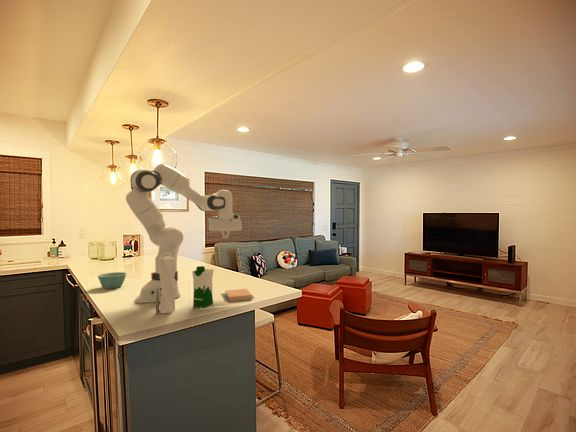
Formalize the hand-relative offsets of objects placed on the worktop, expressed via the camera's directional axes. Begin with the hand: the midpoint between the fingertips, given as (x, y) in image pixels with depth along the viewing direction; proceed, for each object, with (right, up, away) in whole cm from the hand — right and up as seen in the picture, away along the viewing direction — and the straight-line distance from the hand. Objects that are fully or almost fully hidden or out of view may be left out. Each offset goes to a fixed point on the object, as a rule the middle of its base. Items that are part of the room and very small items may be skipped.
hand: (225, 238), depth 186 cm
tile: (+9, -29, -15) cm, 34 cm away
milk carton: (-4, -32, -34) cm, 47 cm away
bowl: (-73, -32, +4) cm, 79 cm away
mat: (+11, -31, -19) cm, 38 cm away
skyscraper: (-19, -32, -43) cm, 57 cm away
